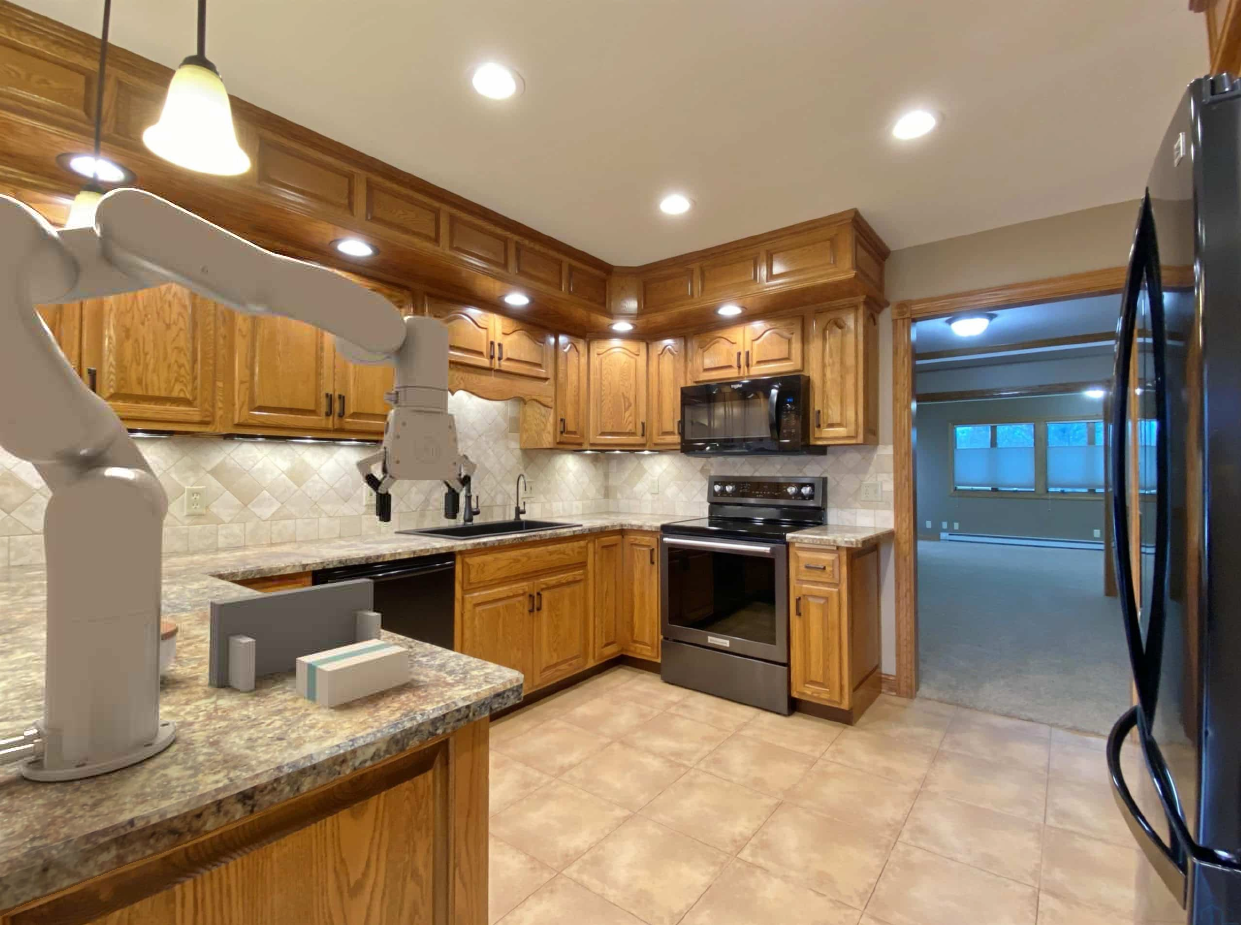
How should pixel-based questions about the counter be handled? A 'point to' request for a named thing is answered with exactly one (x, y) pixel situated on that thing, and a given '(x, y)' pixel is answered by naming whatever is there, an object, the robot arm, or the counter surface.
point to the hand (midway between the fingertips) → (418, 520)
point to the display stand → (286, 629)
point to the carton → (351, 672)
